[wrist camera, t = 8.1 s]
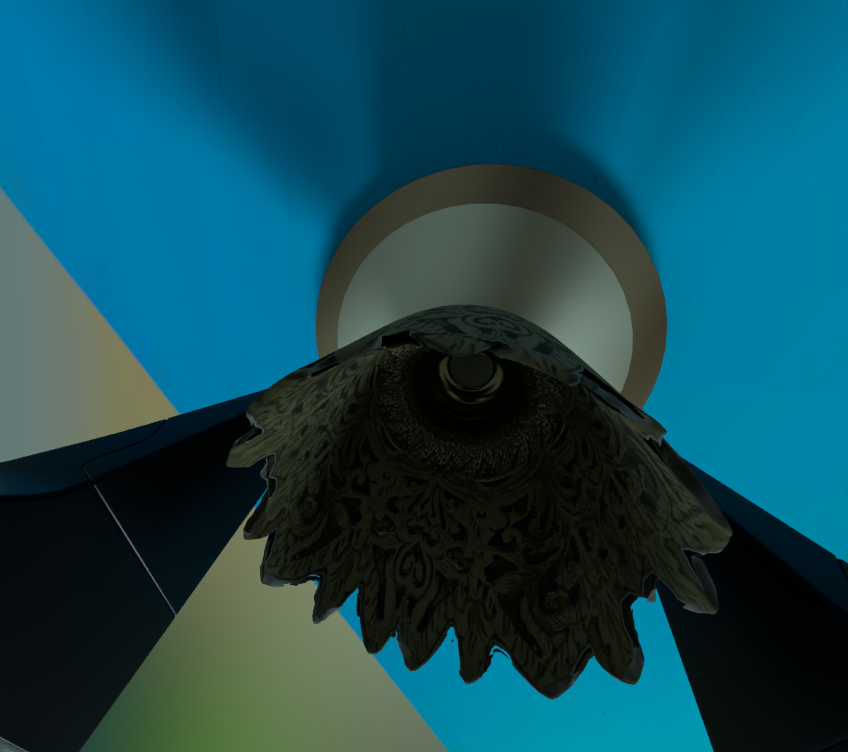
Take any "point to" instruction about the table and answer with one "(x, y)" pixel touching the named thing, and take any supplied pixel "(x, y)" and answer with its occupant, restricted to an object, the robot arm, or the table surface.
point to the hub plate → (503, 270)
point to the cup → (477, 498)
